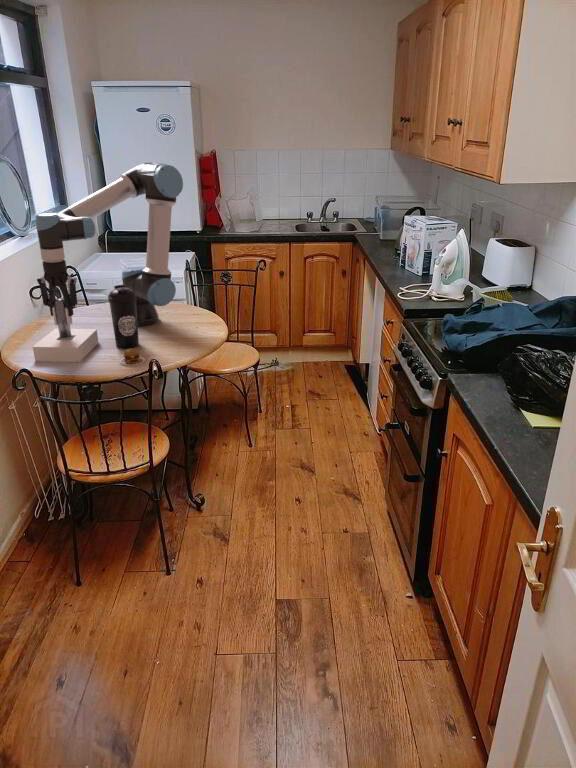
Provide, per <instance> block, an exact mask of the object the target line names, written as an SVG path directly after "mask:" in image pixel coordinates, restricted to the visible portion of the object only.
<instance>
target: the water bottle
mask: <svg viewBox="0 0 576 768" xmlns="http://www.w3.org/2000/svg"><path fill="white" fill-rule="evenodd" d="M136 300H137V298H136V294H135V293H134V292H133V291H132V290H130V289H129V288H126V287H125V285H123V284H118V285H116V284H115V285H114V289H112V290H111V291H110V292H109V294H108V295H107V301H108V303H109V306H110V314H111V321H112V327H113V333H114V334H113V335H114V340H115V347H116V348H117V349H119V350H127V349H130V348H133V349H135V348H137V347H139V346H140V341H139V340H140V339H139V328H138V327H139V326H138V324H137V310H136Z"/></svg>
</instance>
